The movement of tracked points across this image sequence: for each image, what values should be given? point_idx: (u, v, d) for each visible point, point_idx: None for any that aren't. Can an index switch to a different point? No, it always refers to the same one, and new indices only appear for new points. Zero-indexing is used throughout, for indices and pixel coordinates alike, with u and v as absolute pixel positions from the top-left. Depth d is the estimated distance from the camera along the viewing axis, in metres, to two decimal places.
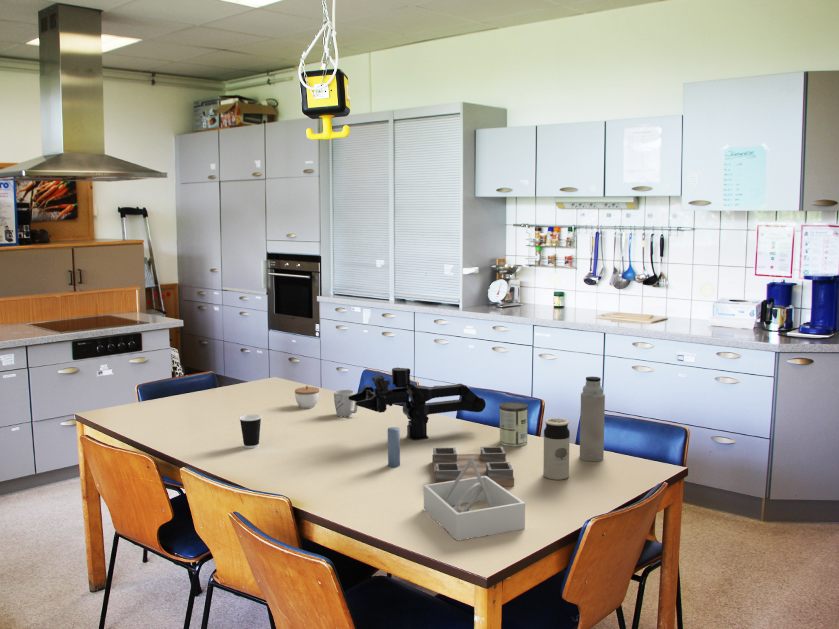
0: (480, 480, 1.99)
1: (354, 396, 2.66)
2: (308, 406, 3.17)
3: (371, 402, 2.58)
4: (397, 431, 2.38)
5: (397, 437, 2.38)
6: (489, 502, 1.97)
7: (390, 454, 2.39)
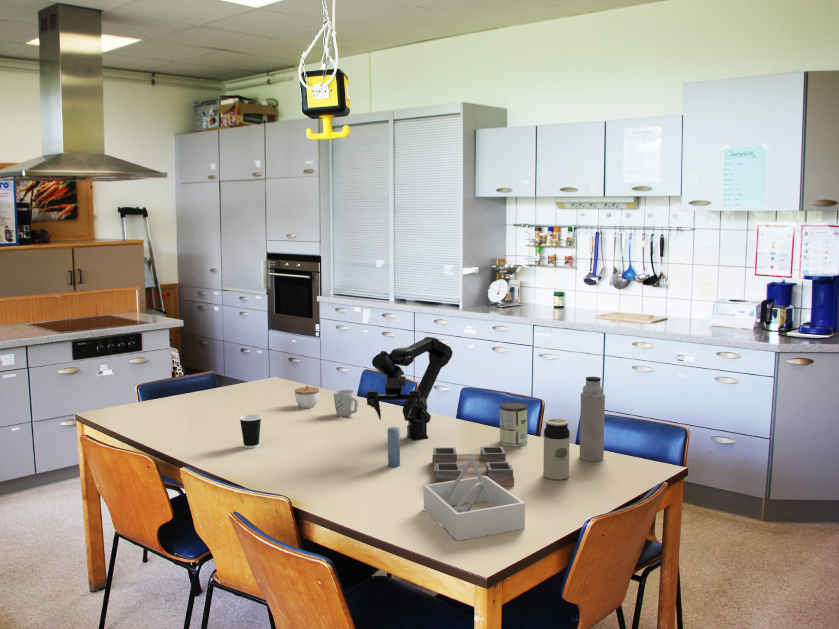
0: (481, 479, 1.99)
1: (380, 413, 2.48)
2: (308, 406, 3.17)
3: None
4: (397, 431, 2.38)
5: (397, 437, 2.38)
6: (490, 501, 1.98)
7: (390, 454, 2.39)
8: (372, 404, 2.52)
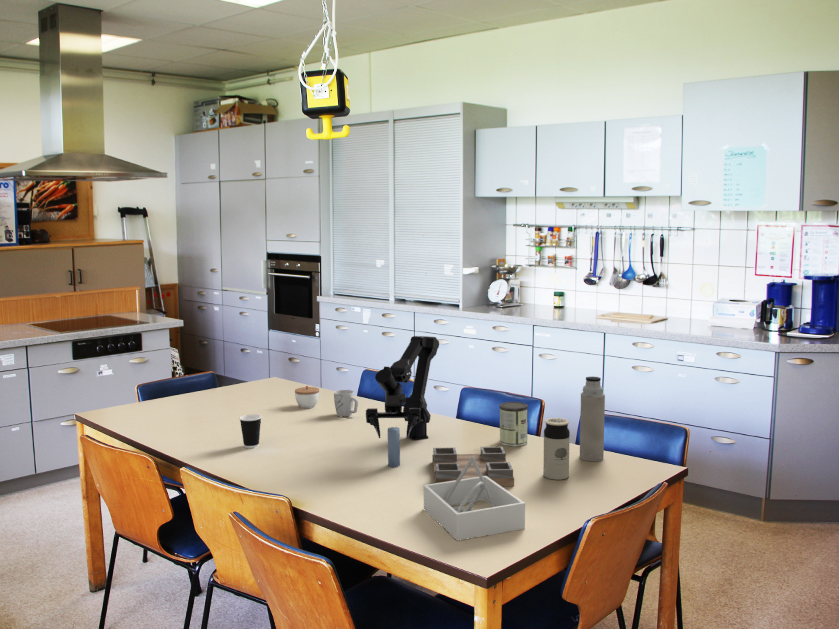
0: (482, 479, 2.00)
1: (379, 431, 2.42)
2: (308, 406, 3.17)
3: None
4: (397, 431, 2.38)
5: (397, 437, 2.38)
6: (491, 501, 1.98)
7: (390, 454, 2.39)
8: (372, 421, 2.46)
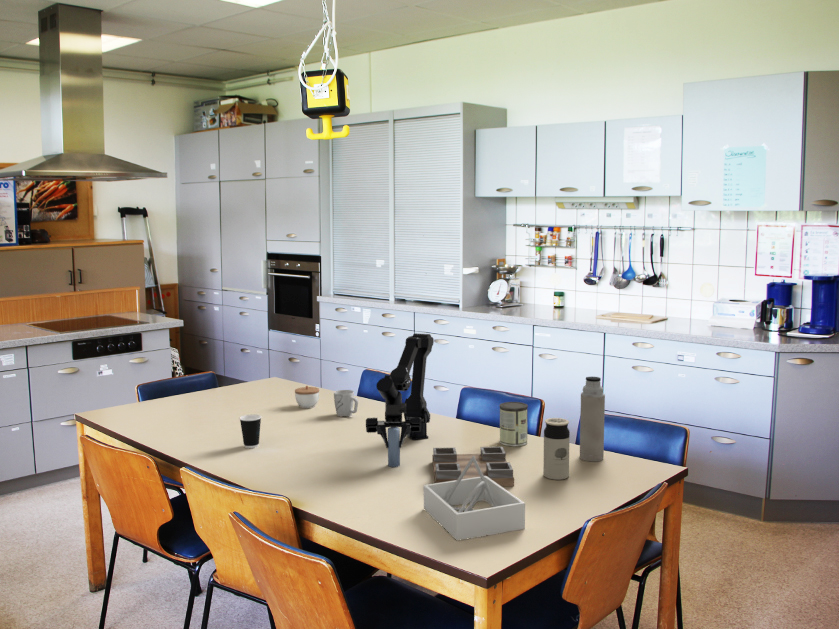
0: (483, 478, 2.00)
1: (387, 440, 2.40)
2: (308, 406, 3.17)
3: None
4: (397, 431, 2.38)
5: (397, 437, 2.38)
6: (492, 500, 1.99)
7: (390, 454, 2.39)
8: (379, 431, 2.43)
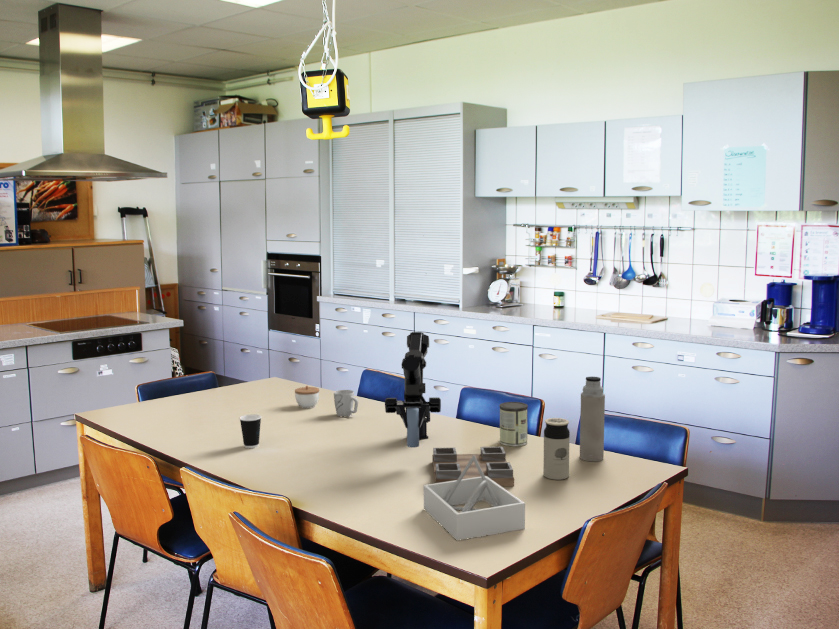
0: (484, 477, 2.01)
1: (406, 421, 2.39)
2: (308, 406, 3.17)
3: None
4: (416, 411, 2.37)
5: (416, 417, 2.37)
6: (493, 499, 2.00)
7: (409, 434, 2.38)
8: (398, 411, 2.42)
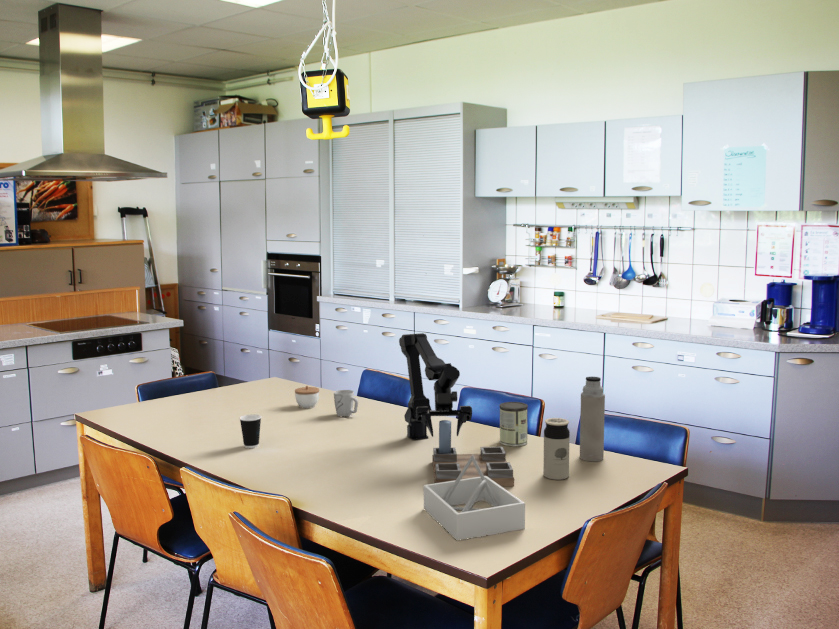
0: (483, 477, 2.01)
1: (432, 429, 2.38)
2: (308, 406, 3.17)
3: None
4: (449, 424, 2.36)
5: (449, 430, 2.36)
6: (493, 498, 2.00)
7: (442, 447, 2.37)
8: (424, 420, 2.42)
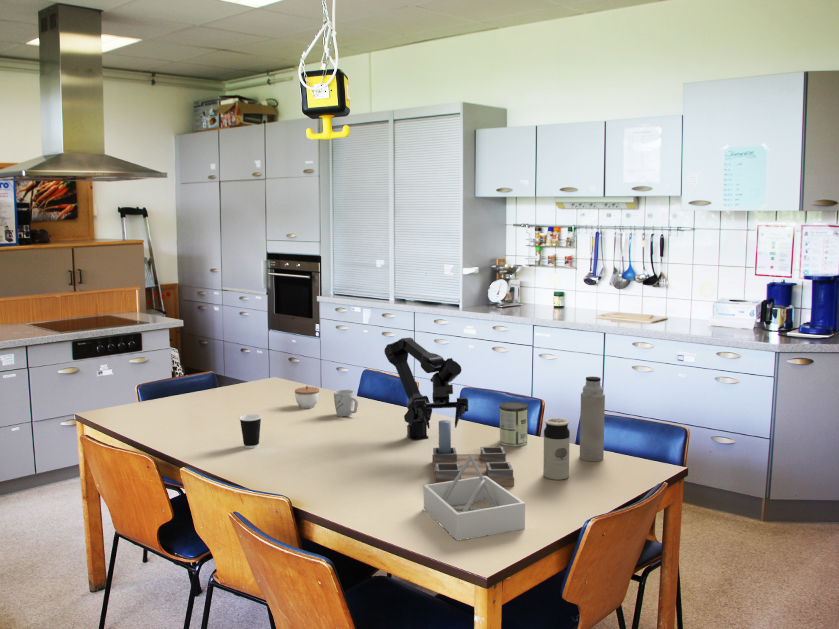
0: (481, 477, 2.02)
1: (428, 421, 2.48)
2: (308, 406, 3.17)
3: None
4: (448, 424, 2.37)
5: (448, 430, 2.37)
6: (491, 498, 2.00)
7: (441, 447, 2.38)
8: (421, 412, 2.51)
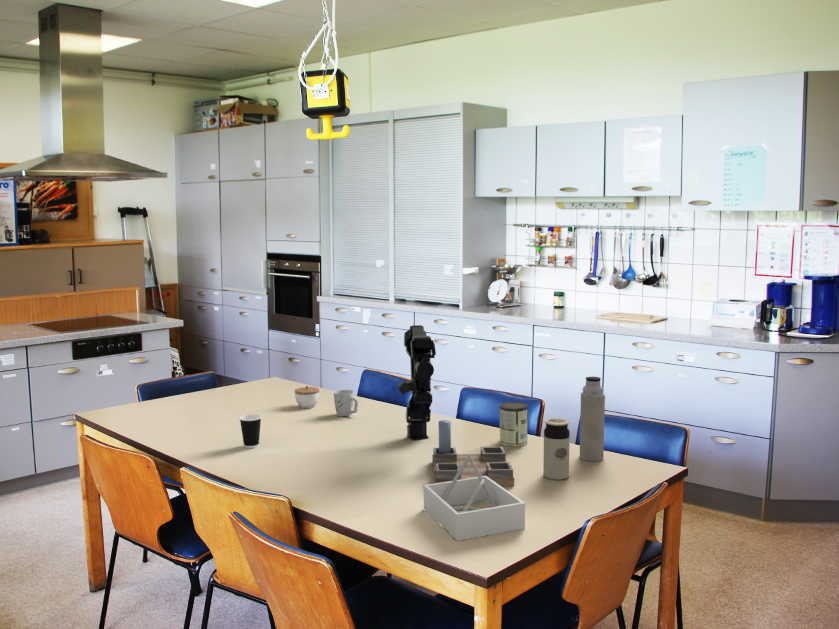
0: (480, 476, 2.02)
1: None
2: (308, 406, 3.17)
3: (422, 405, 2.46)
4: (448, 424, 2.37)
5: (448, 430, 2.37)
6: (490, 497, 2.01)
7: (441, 446, 2.38)
8: None
